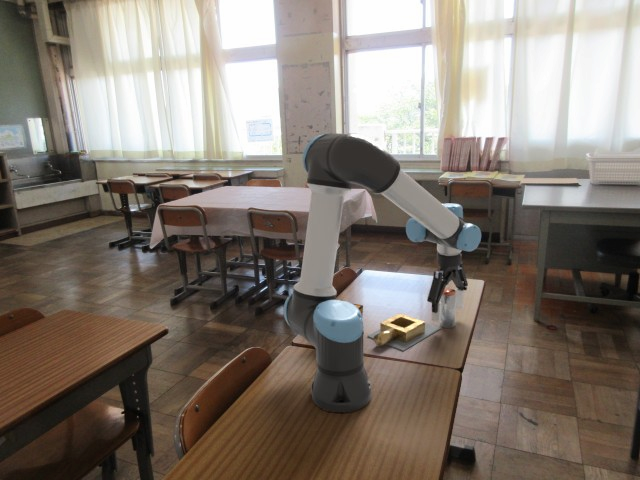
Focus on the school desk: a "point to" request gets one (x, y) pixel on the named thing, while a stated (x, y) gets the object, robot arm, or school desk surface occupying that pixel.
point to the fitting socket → (399, 329)
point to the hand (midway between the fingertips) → (447, 314)
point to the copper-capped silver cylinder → (448, 308)
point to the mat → (403, 346)
